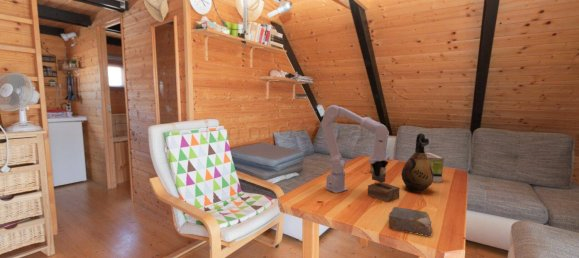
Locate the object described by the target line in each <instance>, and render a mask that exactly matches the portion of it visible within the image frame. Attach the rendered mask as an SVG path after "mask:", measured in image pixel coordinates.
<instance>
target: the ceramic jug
mask: <svg viewBox="0 0 579 258" xmlns="http://www.w3.org/2000/svg"><path fill="white" fill-rule="evenodd" d="M429 143H430V139H429V138H426V136H425V133H422V132H421V133H418V134H417V135H416V140H415V150H414V153H412V155H411V156H410V157H409V158H408V159H407V160H406V162H405V163H404V165H403V166H402V169H401V179H402V181H403V183H404V185H405V189H406V190H407V191H410V192H413V193H417V194H418V193H425V191H426V190H428V188H429V187H430V186H431V185H432V184H433V183H434V182H433V179H434V172H433V167H432V165H431V163H430V161H429V159H428V157H427V156H426V154H425V153H426V152H425V147H426V146H428V145H429Z"/></svg>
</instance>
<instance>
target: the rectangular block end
mask: <svg viewBox="0 0 579 258" xmlns="http://www.w3.org/2000/svg"><path fill="white" fill-rule="evenodd" d="M386 173H387V167H381V169H380V175H379V177H377V176H375V174H374V170H373V167H372V172H371V180H373V181H376V182H382V183H386Z"/></svg>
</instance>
